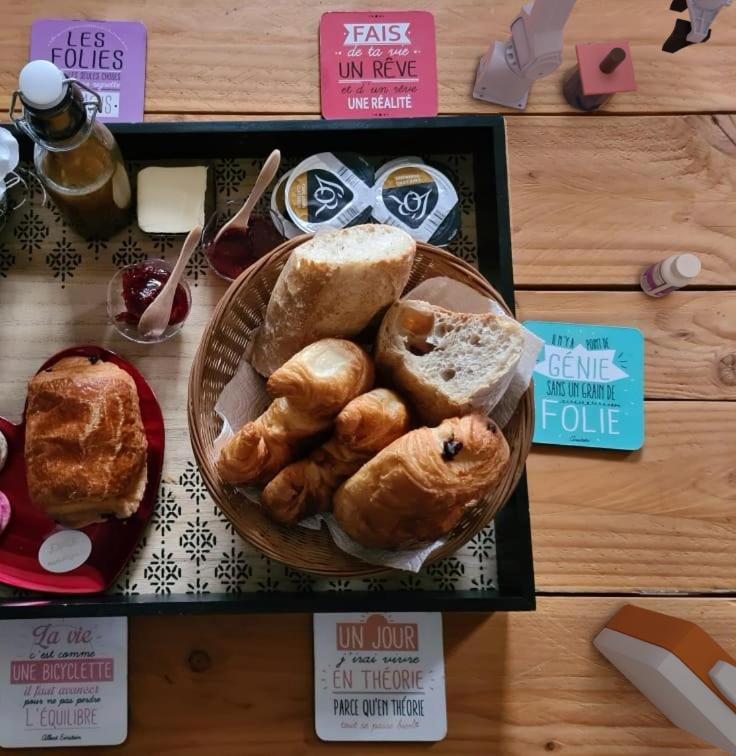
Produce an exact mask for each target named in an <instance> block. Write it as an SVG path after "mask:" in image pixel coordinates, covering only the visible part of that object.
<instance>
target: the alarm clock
mask: <svg viewBox="0 0 736 756" xmlns="http://www.w3.org/2000/svg"><path fill="white" fill-rule="evenodd" d="M592 644H593V645H594V647H595V648H596V649H597V651H599V652H600V654H602V655H603V656H604V657H605V658H606V659H607V660H608V661H609V662H610V663H611V665H613V666H614V667H615V668H616V669H617V670H618V671H619V672H620V673H621V674H622V675H623V676H624V677H625V678H626V679H627V680H628V681H629V682H630V683H631V684H632V685H633V686H634V687H635V688H636V689H637V690H638V691H639V692H640V693H641V694H642V695H643V696H644V697H645V698H646V699H647V700H648V701H649V702H650V703H652V705H653V706H654V707H656V708H657V709H658V710H659V711H660V712H661V713H662V715H664V716H665V718H667V719H668V720H669V721H670V722H671V723H672V724H673V725H674V726H676V727H677V728H679V729H681V730H683V731H685V732H686V733H689V734H691V736H694V737H696V738H698V739H700V740H702V741H704V742H706V743H707V744H710V745H712V746H714V747H715V748H718V749H720V750H721V751H723V752H725V753H727V754H728V755H731V756H736V660H735V659H734V658H733V657H732V655H730V654H729V653H728V651H726V650H725V649H724V648H723V647H722V646H721V645H720V644H719V643H718V642H717V641H716V640H715V639H714V638H713V637H712V636H711V635H710V634H709V633H707V632H706V630H704V629H703V628H702V627H701V626H699V625H698V624H697V623H694V622H692V621H690V620H687V619H683V618H680V617H676V616H674V615H673V616H672V615H669V614H665V613H662V612H658V611H655V610H651V609H649V608H648V609H647V608H644V607H641V606H637V605H634V604H630V603H627V604H625V605H623V606H622V607H621V609H620V610H619V611H618V612H617V613H616V614H615V615H614V616H613V617H612V619H611V620H610V621H609V622H608V623H607V624H606V626H605V627H604V628H603V629H602V630H601V631H600V632H599V633H598V634H597V636H596V637H595V638H594V639H593V643H592Z"/></svg>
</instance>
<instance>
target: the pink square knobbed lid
mask: <svg viewBox="0 0 736 756" xmlns="http://www.w3.org/2000/svg"><path fill="white" fill-rule="evenodd" d="M630 47H631V46H630V42H629V40H621V41H608V42H594V43H579V44H576V45H575V46H574V49H575V55H576V60H577V63H578V67H579V73H580V78H581V84H582V90H583V95H594V94H607V93H616V94H618V93H619V94H620V93H631V92H633V93H634V92H637V91H638V86H637V85H638V84H637V80H636V74H635V70H634V64H633V59H632V54H631V48H630Z"/></svg>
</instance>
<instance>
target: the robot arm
mask: <svg viewBox="0 0 736 756" xmlns="http://www.w3.org/2000/svg"><path fill="white" fill-rule="evenodd" d="M577 1H578V0H534V1H532V2H529V3H527V4H524V5H523V6H521V8H520V11H519V12H518V14H516V15H515V16H514V18H512V19H511V21H510V22H509V31H510V32H511V35H510V36H509V38H508V39H509V40H506V41H500V40H493V41H492V42H491V44H490V46H489V47H488V49H487V50H486V52H485V53H484V55H483V56H482V57H481V58H480V61H479V65H478V68H477V72H476V78H475V83H474V87H473V91H472V98H474V99H477V100H481V101H485V102H489V103H493V104H497V105H501V106H505V107H509V108H512V109H517V110H521V111H524V110H525V109H526V106H527V101H528V97H529V94H530V93H529V92H530V89H531V87H532V86H533V84H534V83H535V82H536V81H537V80H541V79H543V78H546V77H548V76H550V75H552V74H553V73H555V72H556V71H557V70H559V68H560V67H561V65H563V62H564V60H563V56H562V53H563V51H564V28H565V26H566V24H567V21H568V19H569V18H570V15H571V13H572V11H573V9H574V7H575V4H576V3H577ZM733 3H734V0H672V1H671V3H670V6H669V8H668V9H669V10H668V11H672V12H676V13H680V14H682V13H683V12H685V11H686V10H687V11H688V16H689V20H686V19H682V18H679V17H678V18H677V19H675V24H674V28H673V30H672V32H671V33H670V35H669V36H668V38H666V40H664V42H663V44H662V47H661V51H662V52H664V53H669V54H672V55H673V54H676V52H679V51H680V50H682V49H685V48H686V47H690V46H692V45H697V44H703V43H707V42H708V41H709V40H710V39H711V35H712V28H710V27H711V26H712V24H713V23H714V21H715V20H716V18H717V17H718V15H719V14H720V13H721V10H722V9H723V8H724V7H726V8H729V7H730V6H732V5H733Z"/></svg>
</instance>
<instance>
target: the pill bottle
mask: <svg viewBox="0 0 736 756" xmlns="http://www.w3.org/2000/svg"><path fill="white" fill-rule="evenodd" d="M701 270H702V263H701V261H700V259H699V258H698V257H697V256H696V255H694V254H692V253H682V254H674V255H670V256H667V257H666V258H663V259H662V260H660V261H658V262H656V263H655V264H653V265H651V266H649V267H648V268H646V269H645V270H644V271H642V273H641V275H640V277H639V284H640V287H641V289H642V290H643V291H644V293H645V294H647V295H648V296H650V297H654V298H659V297H663V296H665V295H666V296H667V295H669V294H670V293H673V292H675V291H677V290H679V289H681V288H684V287H686V286H688V285H689V284H690V283H691V282H692V281H693V280H694V279H695V277H696V276H698V275H699V274H700V273H701Z"/></svg>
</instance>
